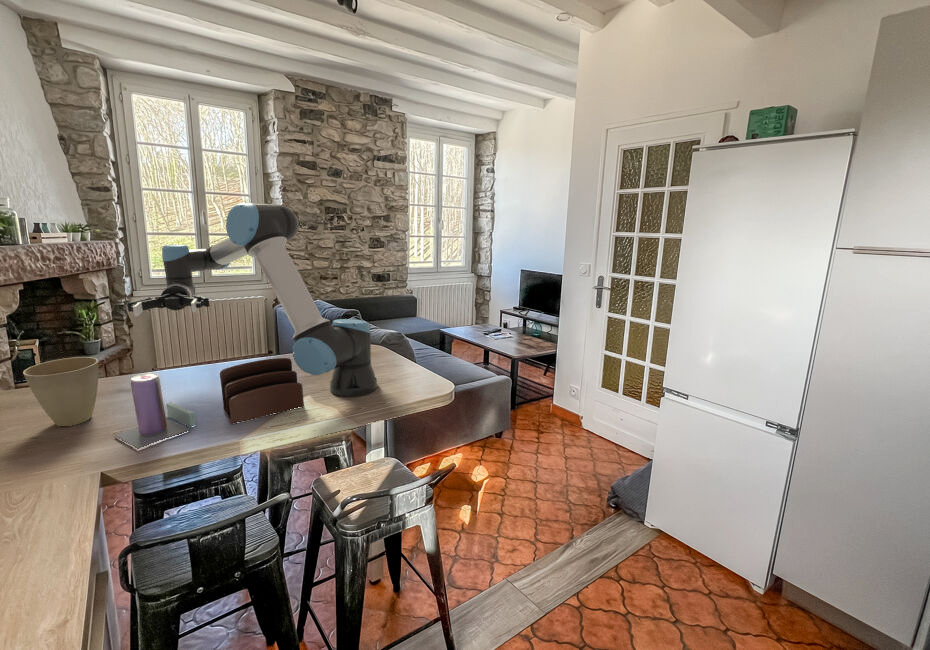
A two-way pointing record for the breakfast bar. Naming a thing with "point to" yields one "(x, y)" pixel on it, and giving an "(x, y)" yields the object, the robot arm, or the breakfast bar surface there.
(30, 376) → the plant pot
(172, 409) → the frosted wall
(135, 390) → the beverage can
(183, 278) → the robot arm
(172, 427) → the slate coaster
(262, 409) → the letter holder
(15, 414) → the breakfast bar surface
